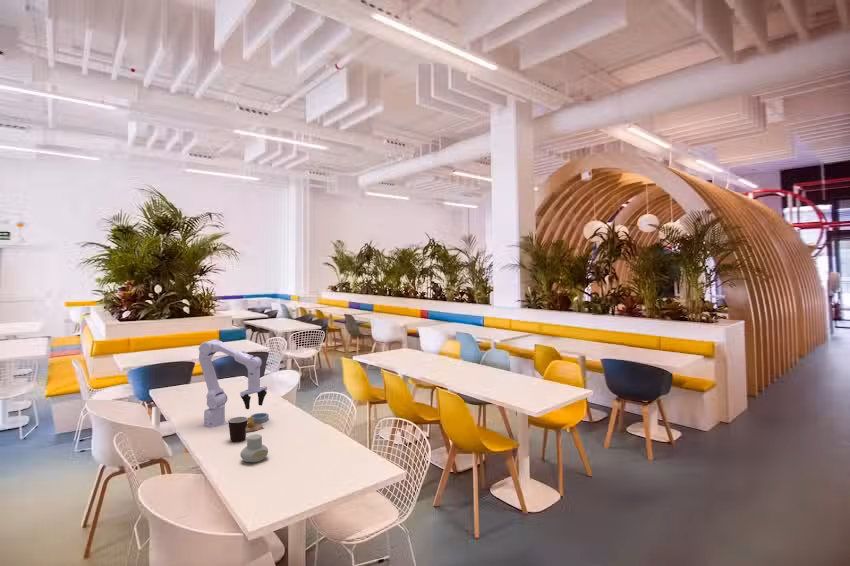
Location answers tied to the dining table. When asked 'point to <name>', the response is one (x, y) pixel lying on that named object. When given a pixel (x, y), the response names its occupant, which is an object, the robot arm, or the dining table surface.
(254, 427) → the lid
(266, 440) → the dining table surface
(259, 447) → the air freshener
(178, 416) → the dining table surface
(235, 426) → the coffee mug
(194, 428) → the dining table surface
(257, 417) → the bowl
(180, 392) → the dining table surface
